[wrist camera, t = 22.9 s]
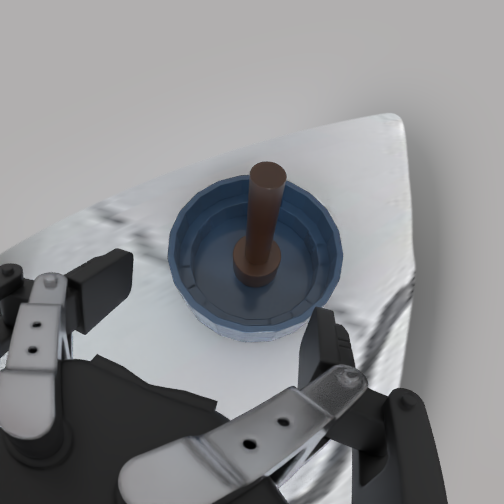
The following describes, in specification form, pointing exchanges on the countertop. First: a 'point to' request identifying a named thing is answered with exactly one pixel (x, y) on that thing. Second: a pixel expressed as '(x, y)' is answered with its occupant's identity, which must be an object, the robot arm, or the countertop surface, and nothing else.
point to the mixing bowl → (221, 262)
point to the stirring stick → (260, 227)
